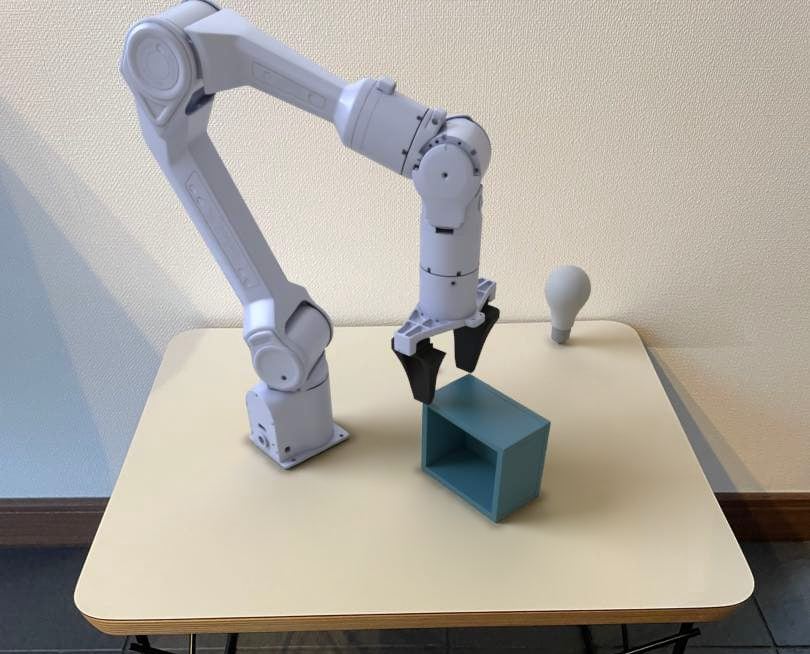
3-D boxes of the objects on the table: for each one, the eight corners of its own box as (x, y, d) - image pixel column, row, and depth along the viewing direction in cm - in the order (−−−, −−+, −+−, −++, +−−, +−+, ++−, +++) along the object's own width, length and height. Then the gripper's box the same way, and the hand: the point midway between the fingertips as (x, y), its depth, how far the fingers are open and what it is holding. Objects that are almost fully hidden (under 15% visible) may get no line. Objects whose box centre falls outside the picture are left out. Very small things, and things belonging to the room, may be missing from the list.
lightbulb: (531, 346, 107) (541, 272, 100) (546, 327, 111) (557, 253, 103) (572, 357, 105) (586, 282, 98) (586, 337, 109) (600, 263, 101)
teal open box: (495, 523, 82) (503, 449, 75) (421, 469, 88) (422, 396, 81) (539, 494, 85) (551, 421, 78) (464, 444, 92) (469, 372, 85)
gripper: (436, 305, 67) (433, 430, 77) (526, 248, 75) (512, 368, 85) (375, 281, 70) (379, 404, 80) (467, 229, 78) (461, 347, 88)
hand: (444, 384), depth 82 cm, fingers open, 7 cm apart
